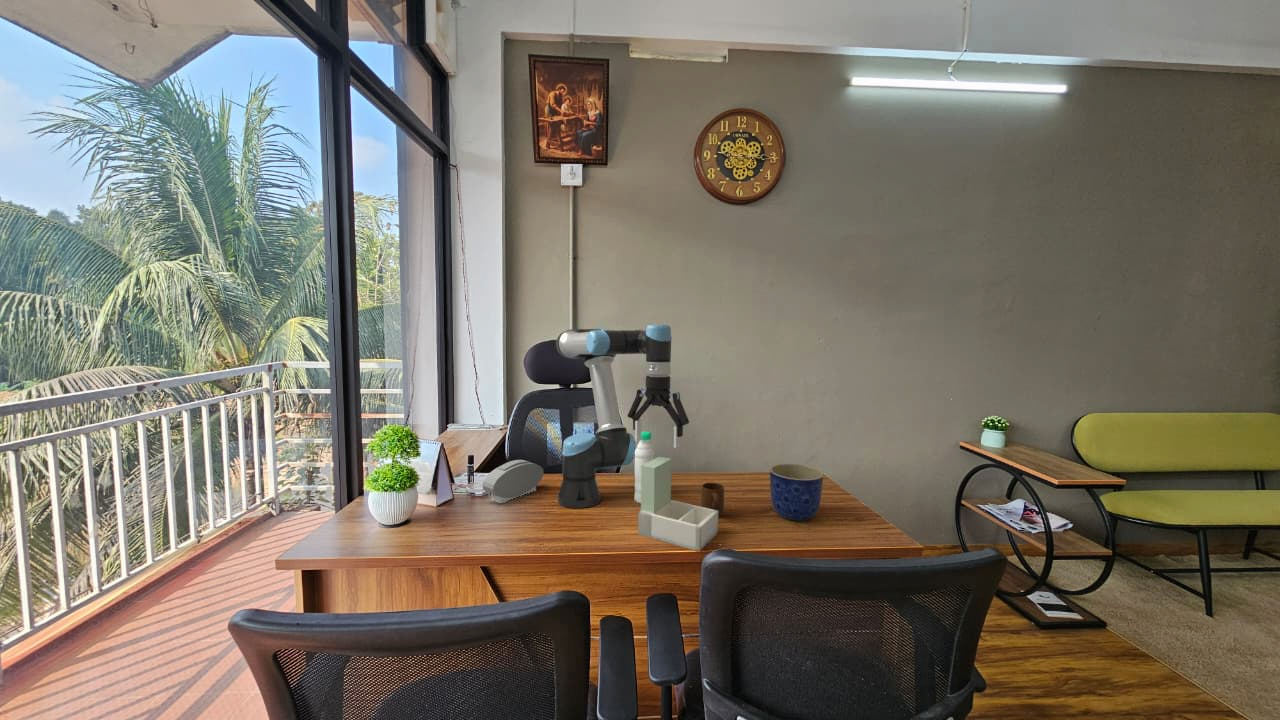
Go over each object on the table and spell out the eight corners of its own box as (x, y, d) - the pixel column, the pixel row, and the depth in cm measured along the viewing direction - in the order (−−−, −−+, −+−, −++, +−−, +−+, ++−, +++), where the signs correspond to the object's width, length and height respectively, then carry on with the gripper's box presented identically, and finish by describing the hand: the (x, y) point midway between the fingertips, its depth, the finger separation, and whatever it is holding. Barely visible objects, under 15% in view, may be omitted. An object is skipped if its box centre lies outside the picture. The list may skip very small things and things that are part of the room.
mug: (727, 523, 151) (728, 495, 150) (704, 523, 151) (704, 495, 150) (721, 509, 163) (722, 482, 162) (699, 508, 163) (700, 482, 162)
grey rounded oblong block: (532, 485, 185) (532, 453, 184) (543, 488, 181) (543, 456, 180) (482, 503, 166) (481, 467, 165) (493, 507, 162) (492, 471, 161)
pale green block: (640, 510, 143) (641, 465, 142) (658, 498, 153) (658, 456, 152) (653, 513, 141) (654, 467, 140) (670, 501, 151) (671, 458, 149)
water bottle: (656, 498, 172) (656, 431, 170) (650, 505, 165) (651, 435, 163) (638, 496, 174) (638, 429, 172) (631, 503, 167) (631, 433, 165)
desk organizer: (638, 534, 143) (638, 505, 142) (660, 518, 155) (660, 491, 154) (699, 551, 133) (700, 520, 132) (717, 532, 145) (718, 504, 144)
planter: (759, 515, 158) (760, 471, 156) (782, 501, 170) (783, 460, 169) (808, 531, 146) (810, 483, 145) (829, 515, 159) (831, 471, 157)
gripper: (617, 373, 147) (616, 440, 149) (690, 379, 134) (688, 452, 136) (630, 371, 153) (629, 435, 155) (700, 377, 141) (699, 446, 142)
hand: (657, 443), depth 146 cm, fingers open, 13 cm apart
